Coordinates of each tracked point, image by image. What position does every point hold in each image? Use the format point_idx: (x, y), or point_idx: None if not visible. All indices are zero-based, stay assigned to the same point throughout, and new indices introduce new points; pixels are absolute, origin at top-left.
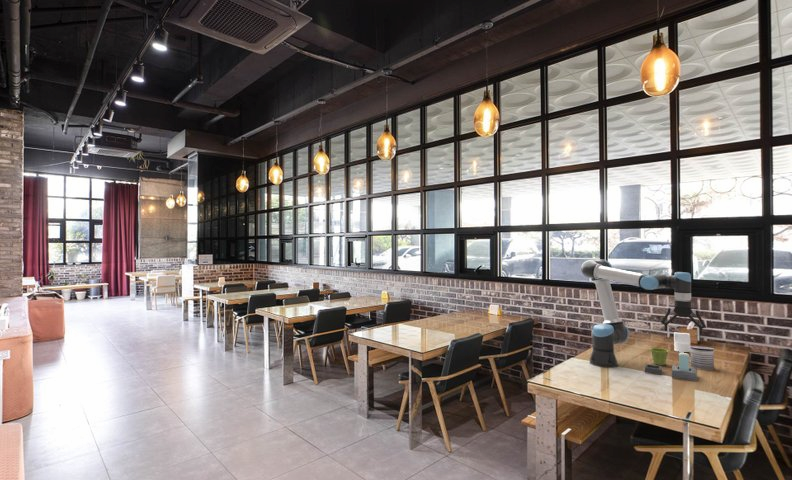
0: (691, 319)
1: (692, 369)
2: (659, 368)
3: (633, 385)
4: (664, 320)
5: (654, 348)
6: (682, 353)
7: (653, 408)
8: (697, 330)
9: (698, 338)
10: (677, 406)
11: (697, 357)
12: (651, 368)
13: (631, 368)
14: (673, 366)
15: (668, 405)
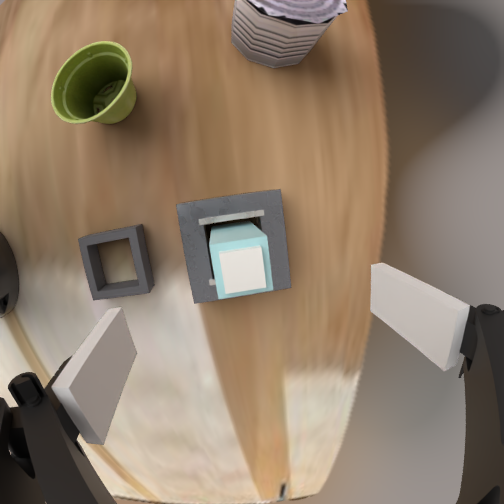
0: (467, 481)
1: (267, 224)
2: (139, 278)
3: (144, 436)
4: (36, 487)
5: (69, 62)
6: (237, 283)
7: (230, 499)
8: (433, 322)
9: (387, 317)
10: (262, 480)
11: (269, 40)
12: (116, 296)
13: (53, 266)
14: (185, 229)
15: (248, 484)
